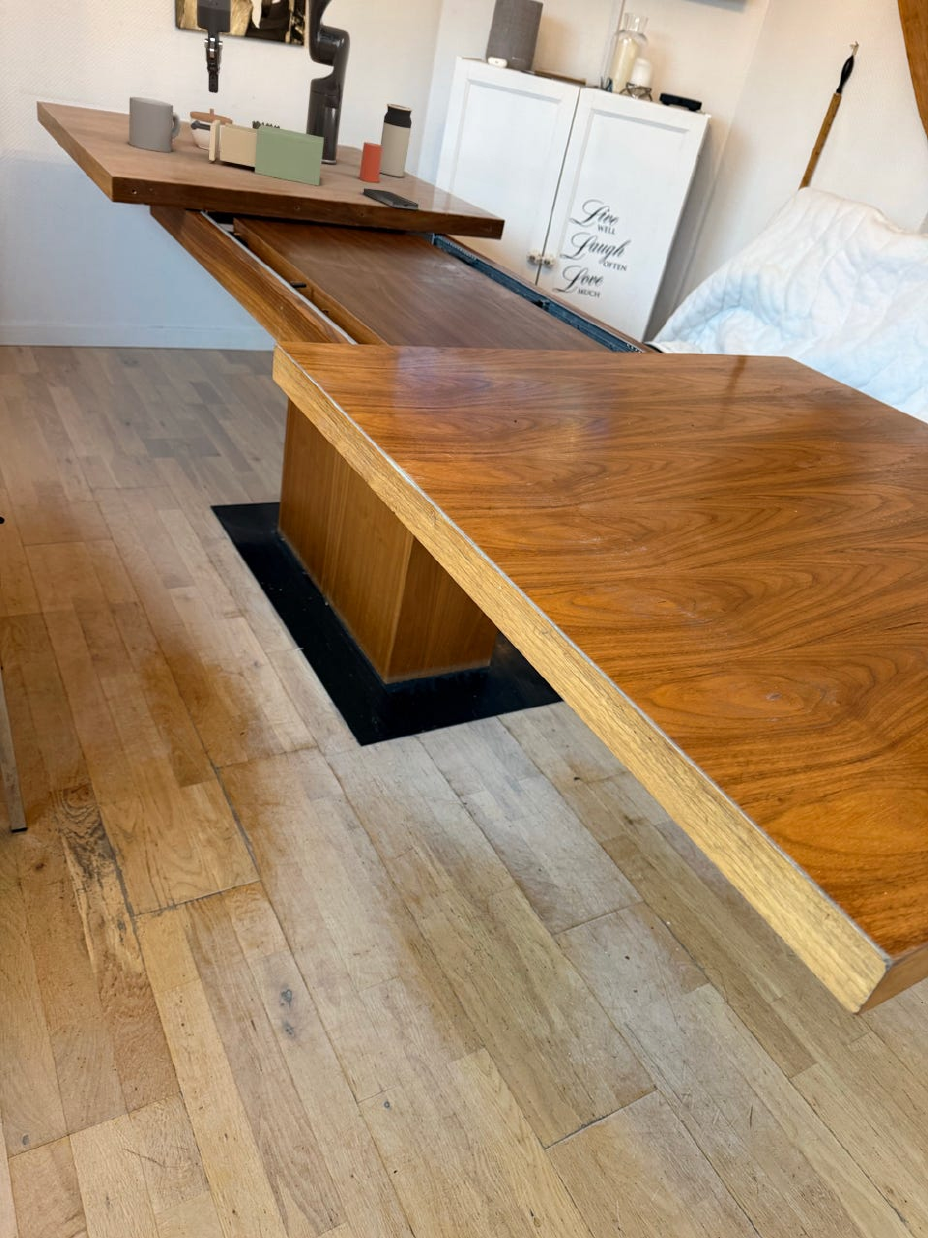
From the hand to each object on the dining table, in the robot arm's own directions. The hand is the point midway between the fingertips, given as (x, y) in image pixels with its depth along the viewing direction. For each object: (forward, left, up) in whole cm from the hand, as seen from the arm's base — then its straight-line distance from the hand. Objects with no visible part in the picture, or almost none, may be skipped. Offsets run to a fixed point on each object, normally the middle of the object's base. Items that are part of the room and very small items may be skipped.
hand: (213, 91), depth 219 cm
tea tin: (-10, +44, -15) cm, 48 cm away
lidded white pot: (-21, +3, -15) cm, 26 cm away
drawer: (+2, +5, -14) cm, 15 cm away
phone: (+21, +40, -15) cm, 48 cm away
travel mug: (-29, +57, -15) cm, 65 cm away
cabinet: (+5, +18, -15) cm, 24 cm away
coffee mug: (-7, -12, -15) cm, 20 cm away
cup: (-24, +18, -15) cm, 33 cm away
